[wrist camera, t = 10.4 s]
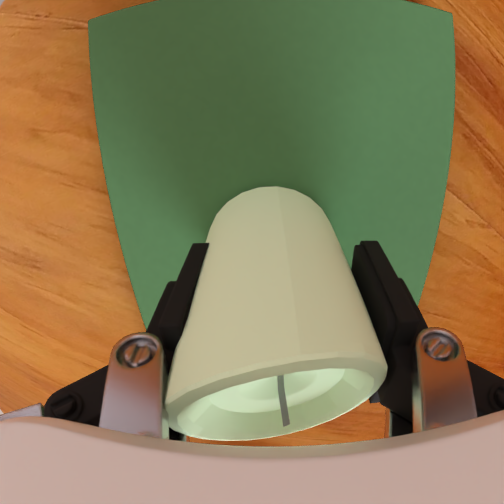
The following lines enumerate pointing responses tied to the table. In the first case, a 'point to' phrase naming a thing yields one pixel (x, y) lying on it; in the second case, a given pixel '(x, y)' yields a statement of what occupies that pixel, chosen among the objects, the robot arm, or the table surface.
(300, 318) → the candle
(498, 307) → the table surface
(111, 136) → the foam
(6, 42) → the table surface
